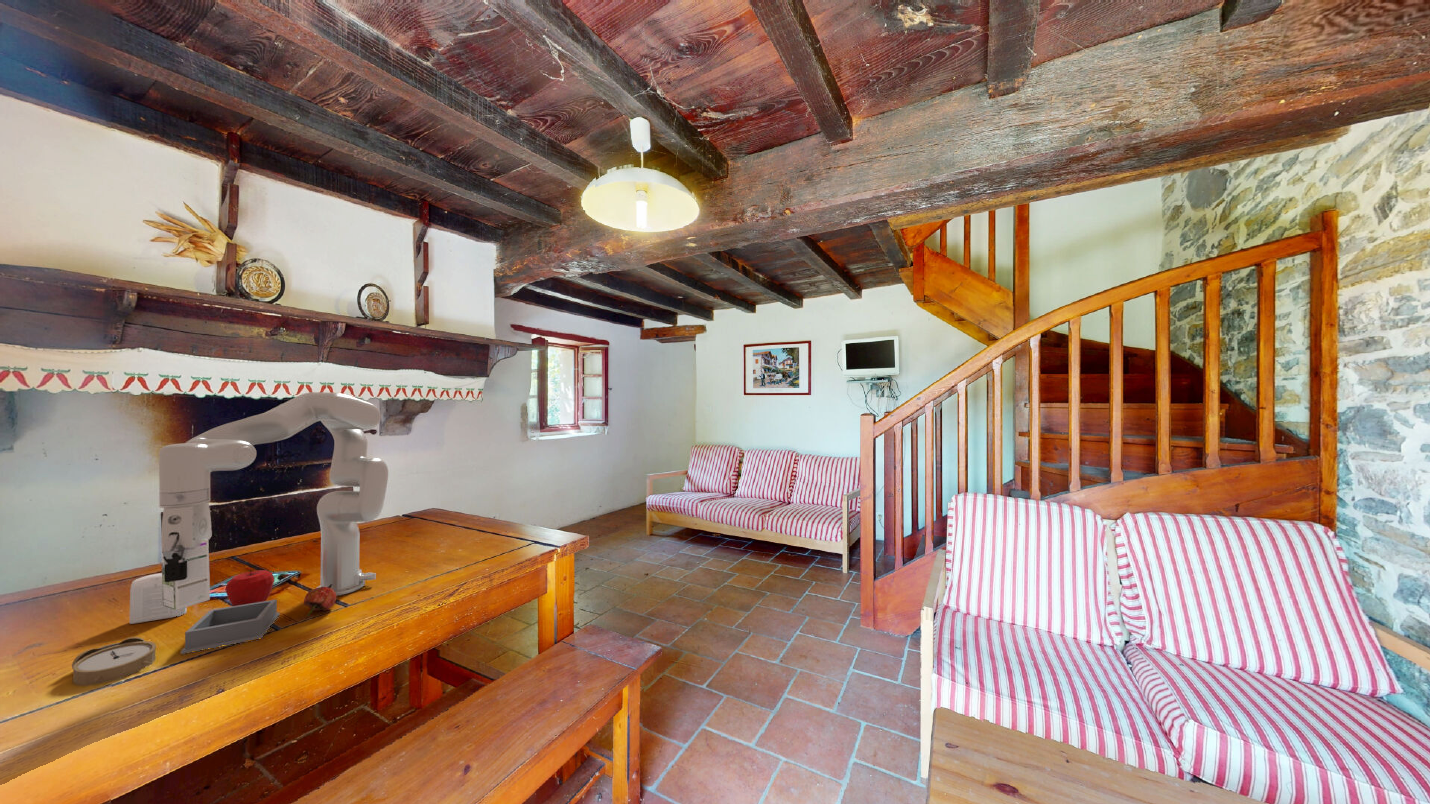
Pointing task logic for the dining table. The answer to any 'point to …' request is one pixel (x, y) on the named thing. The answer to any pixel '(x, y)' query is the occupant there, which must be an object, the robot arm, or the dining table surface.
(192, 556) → the syrup box
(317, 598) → the pomegranate
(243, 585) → the apple
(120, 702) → the dining table surface
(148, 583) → the photo printer
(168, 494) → the robot arm
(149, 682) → the dining table surface
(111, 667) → the alarm clock
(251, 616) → the grey square tray
